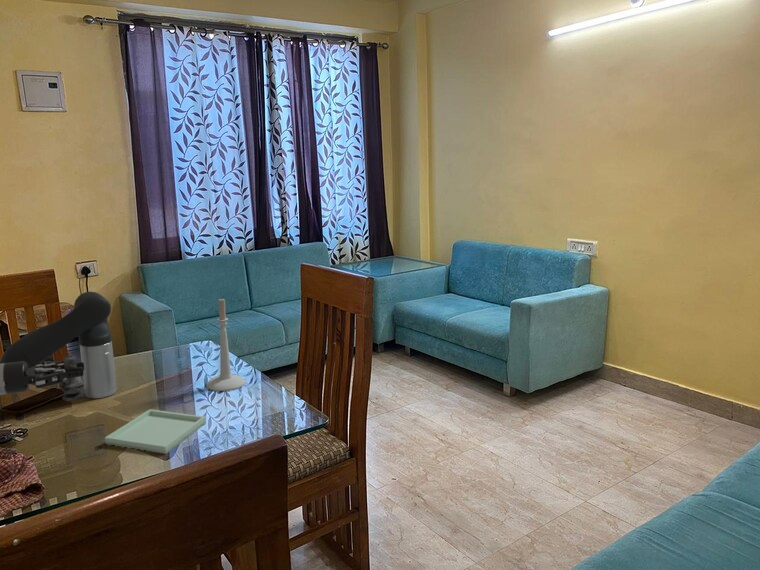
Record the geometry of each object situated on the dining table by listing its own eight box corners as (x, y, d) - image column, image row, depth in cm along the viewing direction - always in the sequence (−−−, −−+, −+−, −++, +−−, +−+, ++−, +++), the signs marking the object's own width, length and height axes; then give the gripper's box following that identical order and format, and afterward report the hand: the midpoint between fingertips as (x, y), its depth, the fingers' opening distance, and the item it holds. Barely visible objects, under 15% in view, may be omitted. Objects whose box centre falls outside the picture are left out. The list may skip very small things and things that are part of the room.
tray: (105, 444, 151) (104, 437, 151) (150, 415, 169) (149, 409, 168) (166, 453, 146) (165, 446, 146) (206, 423, 164) (205, 416, 163)
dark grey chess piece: (75, 401, 143) (70, 356, 141) (55, 399, 144) (50, 354, 142) (91, 393, 149) (87, 349, 146) (72, 391, 150) (67, 347, 147)
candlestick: (252, 380, 197) (249, 295, 191) (231, 393, 185) (227, 304, 179) (221, 375, 201) (216, 292, 195) (198, 388, 189) (192, 300, 183)
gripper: (11, 383, 146) (86, 373, 153) (1, 403, 134) (84, 392, 141) (7, 355, 145) (83, 346, 152) (-3, 373, 132) (81, 363, 139)
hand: (83, 368), depth 146 cm, fingers closed on dark grey chess piece, 3 cm apart
